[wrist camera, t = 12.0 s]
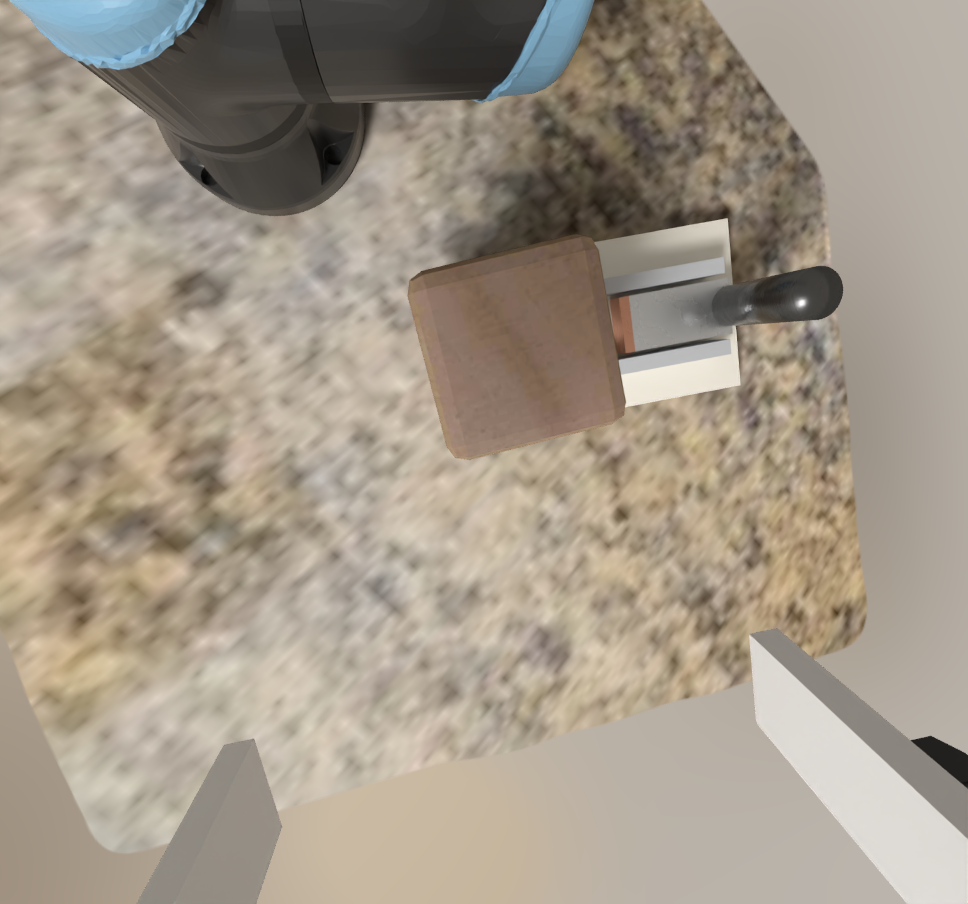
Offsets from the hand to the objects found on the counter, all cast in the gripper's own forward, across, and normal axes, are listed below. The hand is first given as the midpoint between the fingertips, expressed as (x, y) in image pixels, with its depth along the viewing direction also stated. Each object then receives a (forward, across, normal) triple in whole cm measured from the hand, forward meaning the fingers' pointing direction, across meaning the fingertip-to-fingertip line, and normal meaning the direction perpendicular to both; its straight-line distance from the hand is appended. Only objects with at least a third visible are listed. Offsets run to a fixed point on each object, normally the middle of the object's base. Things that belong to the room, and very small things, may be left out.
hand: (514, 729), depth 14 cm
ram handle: (+32, +20, +9) cm, 39 cm away
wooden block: (+35, +4, +9) cm, 36 cm away
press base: (+35, +18, +9) cm, 40 cm away
